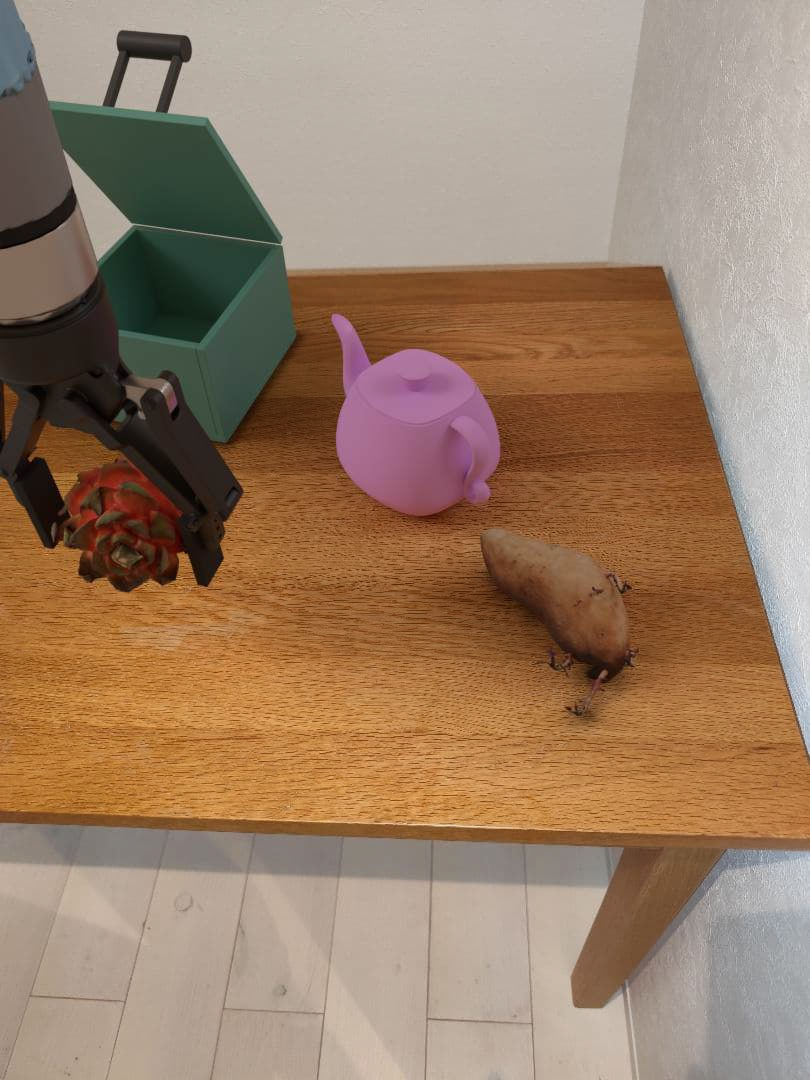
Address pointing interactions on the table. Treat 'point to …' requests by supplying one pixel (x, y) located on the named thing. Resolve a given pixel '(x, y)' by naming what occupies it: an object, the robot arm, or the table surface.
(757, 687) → the table surface
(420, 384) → the teapot
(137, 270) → the storage chest
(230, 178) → the chest lid
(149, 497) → the dragon fruit
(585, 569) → the vegetable
